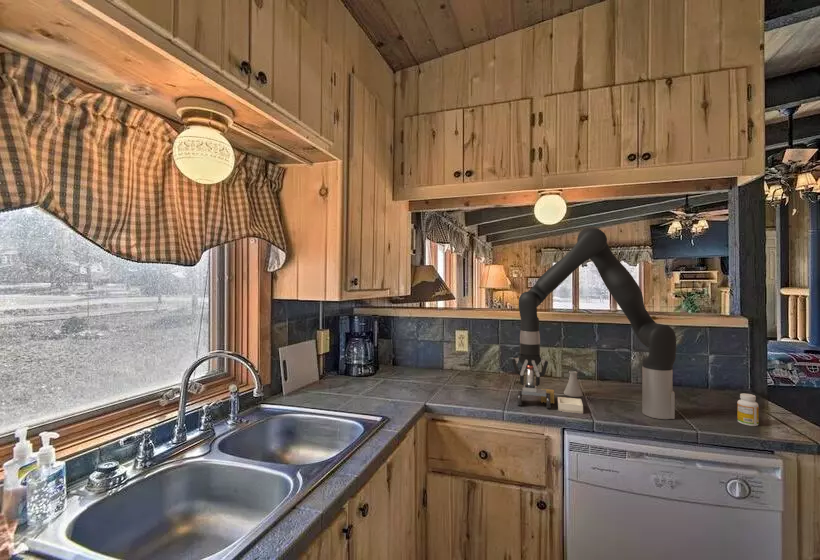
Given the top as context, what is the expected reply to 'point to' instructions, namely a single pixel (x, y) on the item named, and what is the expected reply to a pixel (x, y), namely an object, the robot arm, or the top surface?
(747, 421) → the supplement bottle
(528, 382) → the pin
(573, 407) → the tray
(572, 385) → the flask
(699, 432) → the top surface
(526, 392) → the trolley
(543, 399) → the block
